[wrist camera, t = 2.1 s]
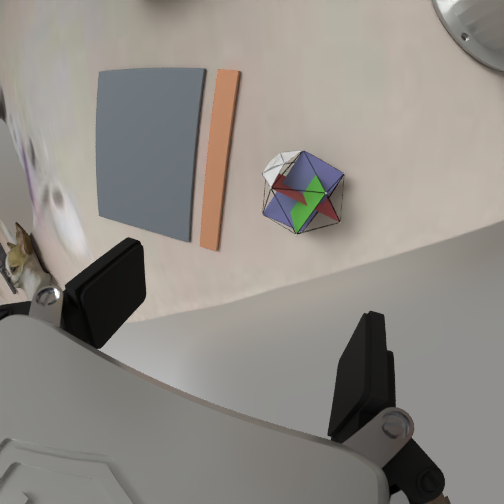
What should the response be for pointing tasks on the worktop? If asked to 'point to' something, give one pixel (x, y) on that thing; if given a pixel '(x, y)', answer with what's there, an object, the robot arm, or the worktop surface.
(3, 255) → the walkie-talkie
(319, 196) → the geometric puzzle
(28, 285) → the ceramic sculpture
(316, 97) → the worktop surface
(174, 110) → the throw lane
